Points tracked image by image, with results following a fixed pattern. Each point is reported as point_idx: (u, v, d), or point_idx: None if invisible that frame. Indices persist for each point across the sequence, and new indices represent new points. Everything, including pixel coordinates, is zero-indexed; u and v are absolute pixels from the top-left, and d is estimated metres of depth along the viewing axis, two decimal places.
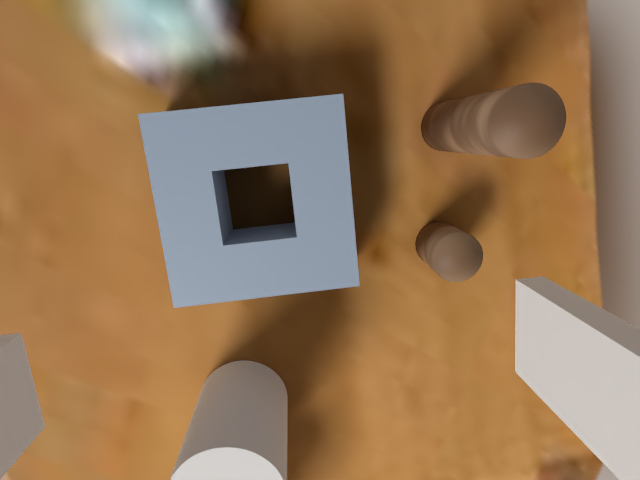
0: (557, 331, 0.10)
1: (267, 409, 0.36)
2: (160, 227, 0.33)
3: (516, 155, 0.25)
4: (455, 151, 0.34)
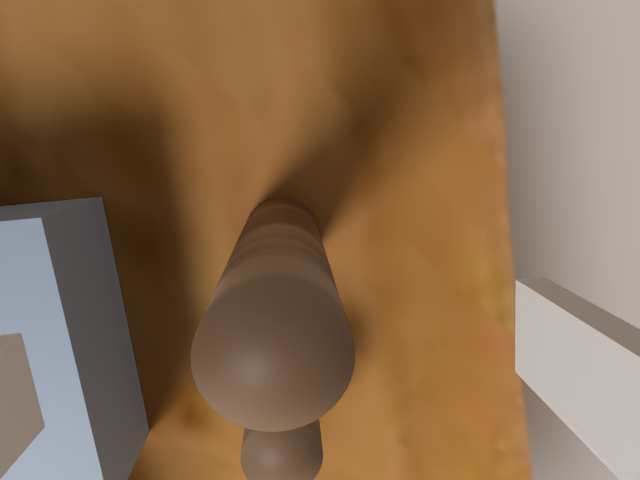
0: (557, 331, 0.10)
1: None
2: None
3: (251, 425, 0.12)
4: None
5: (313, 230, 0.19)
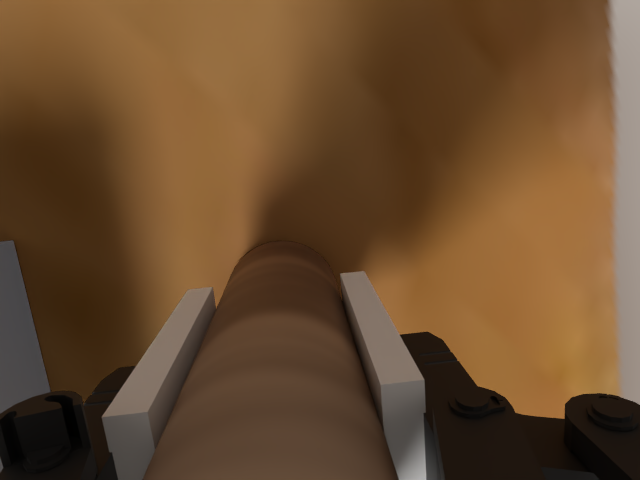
0: (349, 317, 0.12)
1: None
2: None
3: None
4: None
5: (337, 312, 0.11)
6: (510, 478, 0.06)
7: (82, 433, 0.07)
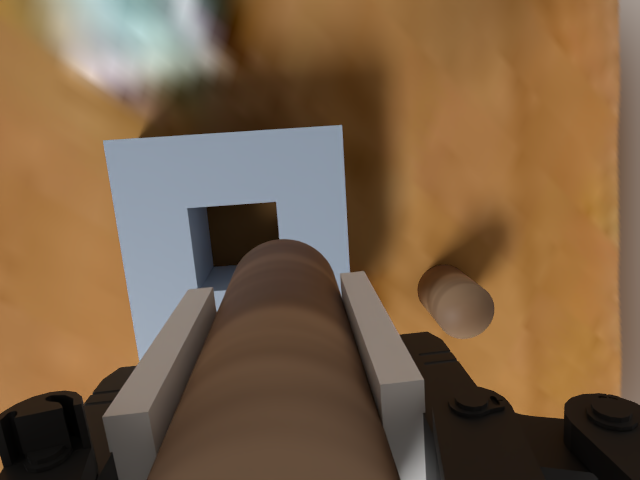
0: (349, 317, 0.12)
1: None
2: (126, 270, 0.28)
3: None
4: None
5: (336, 306, 0.12)
6: (509, 478, 0.06)
7: (82, 433, 0.07)
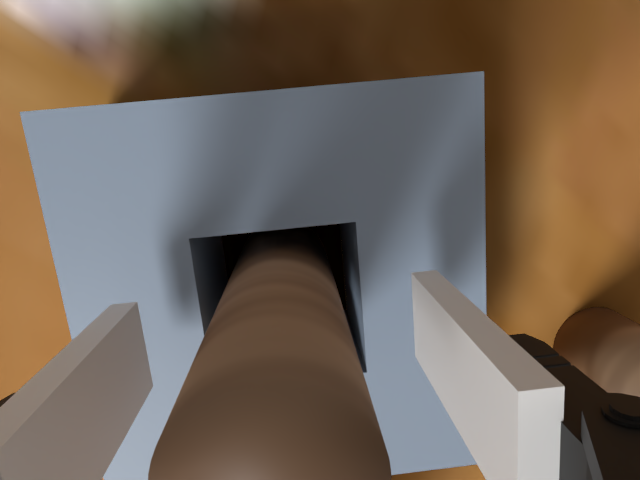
0: (432, 318, 0.12)
1: None
2: None
3: None
4: None
5: (323, 264, 0.16)
6: None
7: None
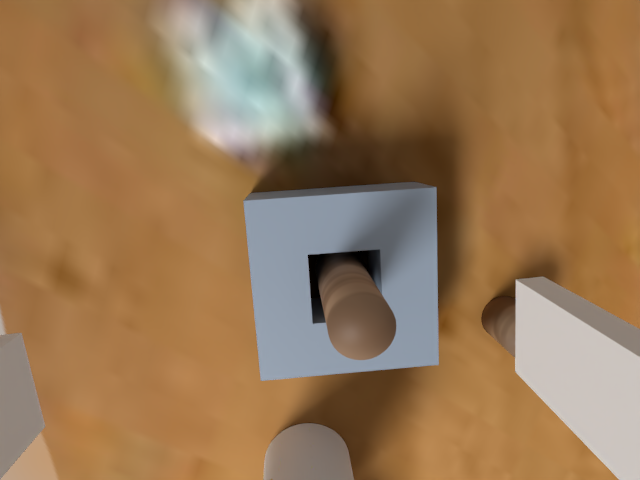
0: (557, 332, 0.10)
1: None
2: (255, 305, 0.34)
3: (351, 356, 0.27)
4: None
5: (364, 267, 0.35)
6: None
7: None
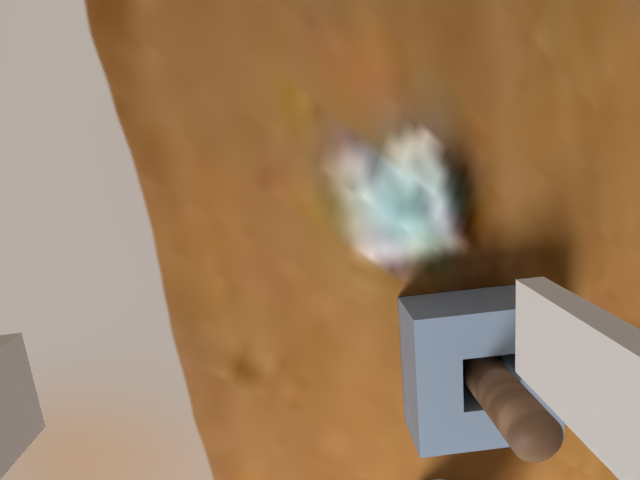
0: (557, 331, 0.10)
1: None
2: (418, 400, 0.42)
3: (527, 460, 0.35)
4: None
5: None
6: None
7: None
